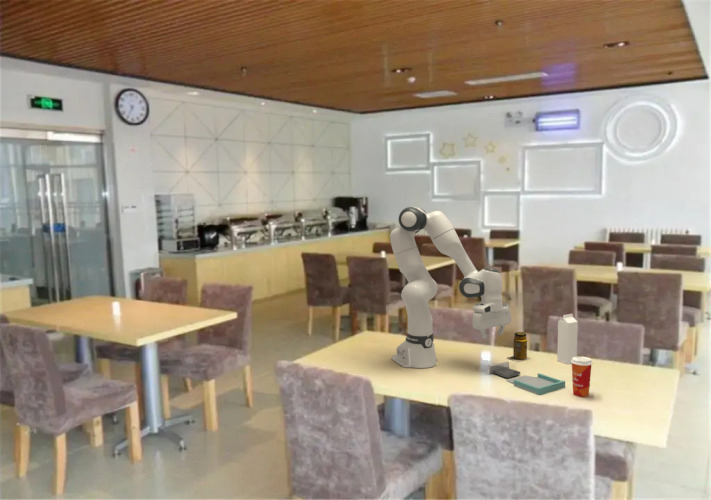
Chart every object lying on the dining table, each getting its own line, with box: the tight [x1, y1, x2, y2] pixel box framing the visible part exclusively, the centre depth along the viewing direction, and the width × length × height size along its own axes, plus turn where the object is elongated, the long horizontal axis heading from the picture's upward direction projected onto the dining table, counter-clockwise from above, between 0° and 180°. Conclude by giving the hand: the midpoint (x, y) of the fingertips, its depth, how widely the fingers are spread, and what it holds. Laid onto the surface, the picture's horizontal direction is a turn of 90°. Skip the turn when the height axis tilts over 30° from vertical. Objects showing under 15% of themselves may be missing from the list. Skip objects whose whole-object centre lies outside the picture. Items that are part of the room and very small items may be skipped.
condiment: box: [506, 331, 531, 363], centre depth 271 cm, size 7×8×12 cm
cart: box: [488, 361, 521, 379], centre depth 249 cm, size 9×11×4 cm
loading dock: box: [505, 373, 566, 396], centre depth 236 cm, size 19×15×4 cm
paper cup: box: [571, 356, 593, 398], centre depth 224 cm, size 8×8×14 cm
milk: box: [556, 313, 579, 365], centre depth 264 cm, size 6×6×22 cm
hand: (492, 336), depth 254 cm, fingers open, 8 cm apart
